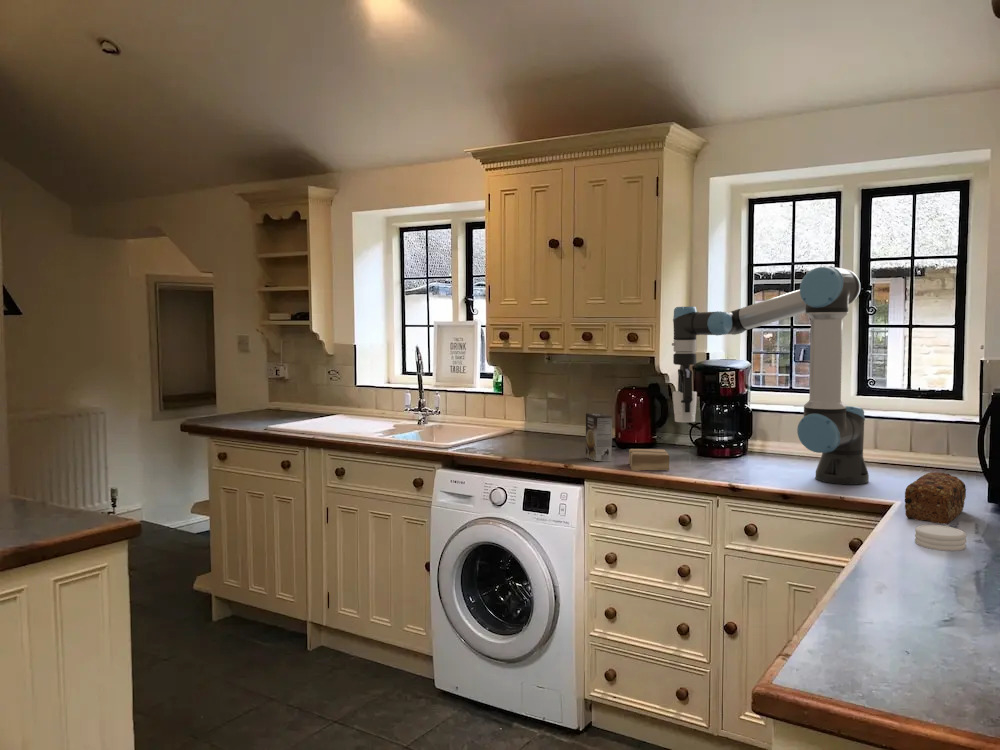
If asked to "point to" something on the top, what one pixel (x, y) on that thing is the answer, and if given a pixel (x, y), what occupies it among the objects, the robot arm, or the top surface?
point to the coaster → (940, 538)
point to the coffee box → (598, 436)
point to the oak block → (648, 459)
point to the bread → (935, 498)
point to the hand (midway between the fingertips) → (684, 420)
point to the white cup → (678, 405)
